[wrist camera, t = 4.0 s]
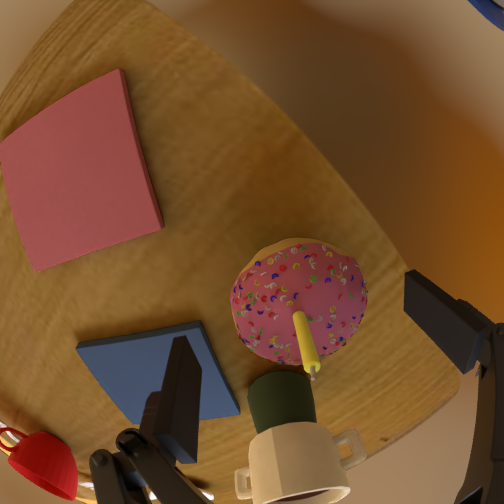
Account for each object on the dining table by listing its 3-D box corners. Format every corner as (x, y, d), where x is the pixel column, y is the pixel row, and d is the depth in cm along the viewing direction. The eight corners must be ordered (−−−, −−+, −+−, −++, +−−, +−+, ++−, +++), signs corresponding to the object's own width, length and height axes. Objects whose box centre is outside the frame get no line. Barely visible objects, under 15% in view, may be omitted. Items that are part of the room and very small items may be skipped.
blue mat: (200, 320, 21) (199, 327, 20) (240, 407, 26) (240, 414, 25) (78, 342, 22) (74, 348, 21) (134, 418, 26) (132, 424, 25)
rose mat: (124, 70, 14) (119, 67, 13) (165, 226, 19) (161, 230, 18) (4, 143, 15) (-3, 144, 14) (40, 268, 19) (34, 273, 18)
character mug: (249, 421, 27) (260, 522, 14) (212, 388, 24) (210, 509, 12) (339, 381, 25) (382, 484, 13) (315, 340, 23) (367, 466, 11)
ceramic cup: (26, 400, 25) (1, 446, 16) (100, 461, 31) (89, 505, 21) (1, 406, 26) (-18, 441, 17) (64, 460, 32) (52, 495, 22)
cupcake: (205, 276, 20) (186, 409, 9) (291, 194, 19) (379, 257, 7) (282, 339, 23) (316, 461, 11) (359, 273, 21) (448, 370, 10)
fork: (56, 467, 34) (54, 473, 32) (-11, 413, 28) (-14, 418, 26) (61, 467, 34) (59, 472, 32) (-10, 411, 27) (-13, 416, 26)
